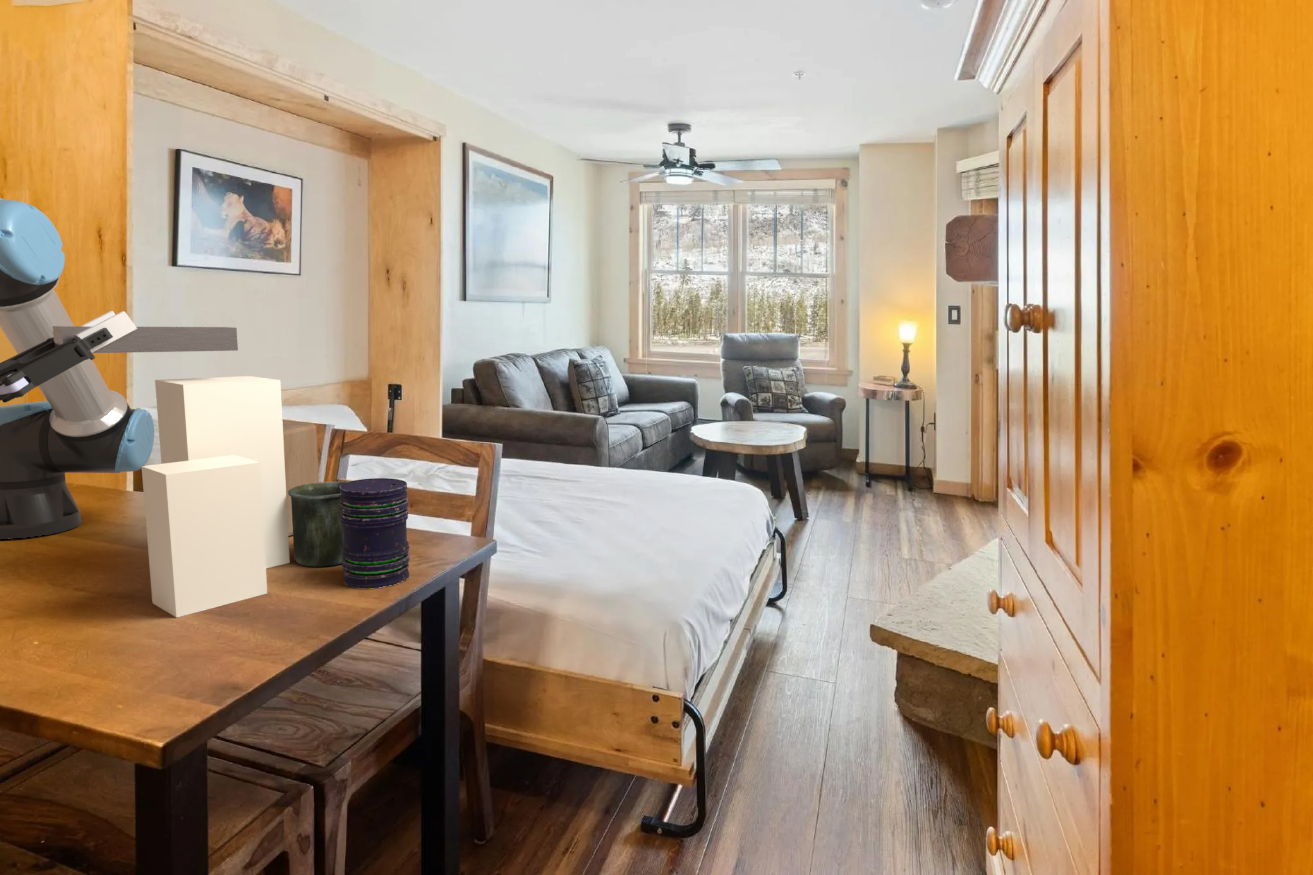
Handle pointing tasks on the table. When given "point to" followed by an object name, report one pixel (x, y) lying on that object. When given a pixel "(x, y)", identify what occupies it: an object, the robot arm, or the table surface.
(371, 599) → the table surface
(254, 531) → the step
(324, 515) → the mug
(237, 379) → the stand
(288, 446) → the block
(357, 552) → the dark purple barrel
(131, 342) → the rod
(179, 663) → the table surface
